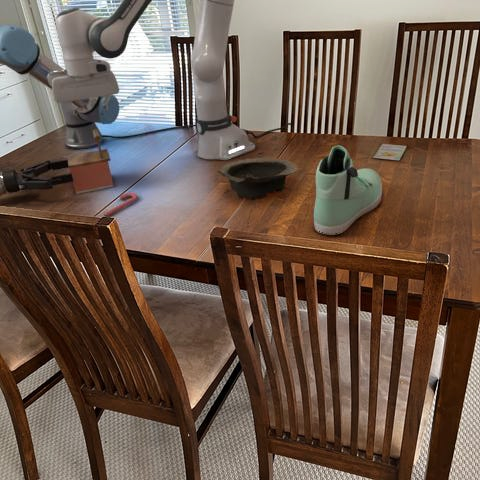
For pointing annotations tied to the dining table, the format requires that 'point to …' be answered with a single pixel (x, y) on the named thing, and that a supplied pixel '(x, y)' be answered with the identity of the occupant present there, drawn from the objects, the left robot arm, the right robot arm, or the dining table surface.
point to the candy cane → (122, 203)
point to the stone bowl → (257, 176)
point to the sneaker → (343, 192)
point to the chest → (91, 177)
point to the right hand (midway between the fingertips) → (91, 111)
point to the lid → (89, 155)
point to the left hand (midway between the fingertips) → (71, 169)
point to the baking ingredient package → (390, 152)
